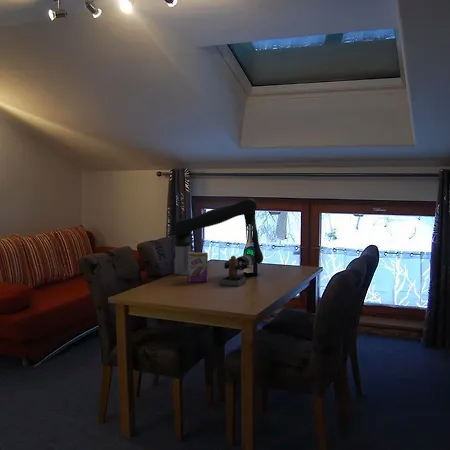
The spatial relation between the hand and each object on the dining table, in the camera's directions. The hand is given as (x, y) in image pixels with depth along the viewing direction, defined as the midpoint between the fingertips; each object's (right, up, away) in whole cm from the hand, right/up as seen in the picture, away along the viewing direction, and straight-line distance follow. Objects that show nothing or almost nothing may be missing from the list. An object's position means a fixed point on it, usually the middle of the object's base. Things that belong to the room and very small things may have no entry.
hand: (230, 267), depth 283 cm
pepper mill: (+1, -9, +3) cm, 9 cm away
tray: (+1, -9, +3) cm, 10 cm away
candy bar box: (-19, -9, +11) cm, 23 cm away
